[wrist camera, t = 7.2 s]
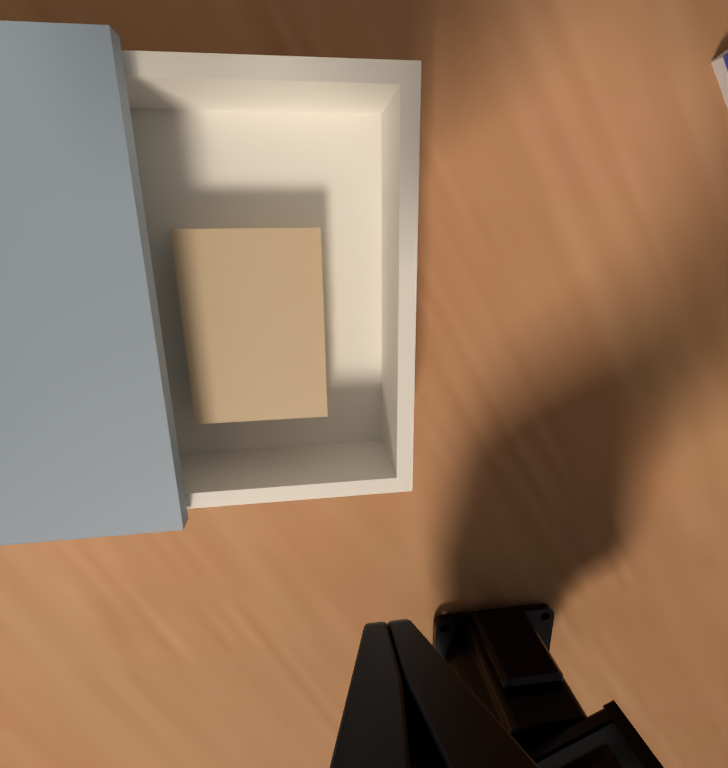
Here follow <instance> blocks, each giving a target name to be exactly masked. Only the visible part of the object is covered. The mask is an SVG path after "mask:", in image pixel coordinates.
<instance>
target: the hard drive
mask: <svg viewBox="0 0 728 768" xmlns="http://www.w3.org/2000/svg"><path fill="white" fill-rule="evenodd" d="M711 64H712V67H713V70H714V72H715V75H716V78H717V81H718V83H719V86H720V89H721V92H722V95H723V98H724V100H725V103H726V106H727V109H728V49H727V50H726V51H724V52H723V53H722V54H720V55H719V56H718V57H716V58H715V59H713V60H712V61H711Z"/></svg>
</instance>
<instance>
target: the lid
mask: <svg viewBox="0 0 728 768" xmlns="http://www.w3.org/2000/svg"><path fill="white" fill-rule="evenodd" d="M187 520H188V514H187V507H186V500H185V493H184V486H183V479H182V472H181V465H180V458H179V451H178V444H177V437H176V430H175V422H174V415H173V408H172V401H171V394H170V387H169V380H168V373H167V366H166V359H165V352H164V345H163V338H162V331H161V324H160V317H159V310H158V303H157V296H156V289H155V282H154V275H153V268H152V261H151V254H150V247H149V240H148V233H147V226H146V219H145V212H144V205H143V198H142V191H141V184H140V177H139V170H138V163H137V156H136V149H135V142H134V135H133V128H132V121H131V113H130V106H129V99H128V92H127V85H126V78H125V71H124V64H123V57H122V50H121V43H120V37H119V36H118V34H117V33H116V32H115V31H114V30H113V29H112V28H111V27H110V25H97V24H73V23H49V22H25V21H1V20H0V545H11V544H23V543H35V542H46V541H58V540H70V539H82V538H94V537H106V536H117V535H129V534H141V533H153V532H165V531H177V530H184V527H185V525H186V522H187Z"/></svg>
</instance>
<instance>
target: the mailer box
mask: <svg viewBox="0 0 728 768" xmlns="http://www.w3.org/2000/svg"><path fill="white" fill-rule="evenodd" d="M122 57H123V64H124V71H125V78H126V85H127V92H128V99H129V106H130V113H131V121H132V128H133V135H134V142H135V149H136V156H137V163H138V170H139V177H140V184H141V191H142V198H143V205H144V212H145V219H146V226H147V233H148V240H149V247H150V254H151V261H152V268H153V275H154V282H155V289H156V296H157V303H158V310H159V317H160V324H161V331H162V338H163V345H164V352H165V359H166V366H167V373H168V380H169V387H170V394H171V401H172V408H173V415H174V422H175V430H176V437H177V444H178V451H179V458H180V465H181V472H182V479H183V486H184V493H185V500H186V507H187V509H190V508H203V507H215V506H228V505H240V504H253V503H266V502H278V501H291V500H304V499H316V498H329V497H341V496H354V495H367V494H379V493H392V492H404V491H412V477H413V431H414V384H415V338H416V291H417V245H418V199H419V152H420V106H421V61H416V60H387V59H359V58H331V57H302V56H274V55H246V54H218V53H189V52H161V51H133V50H122Z"/></svg>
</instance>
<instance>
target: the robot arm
mask: <svg viewBox="0 0 728 768" xmlns="http://www.w3.org/2000/svg"><path fill="white" fill-rule="evenodd" d="M543 613H544V614H543ZM553 619H554V612H553V611H552V609H551V608H550V607H549V605H547V604H543V603H542V604H533V605H524V606H515V607H507V608H498V609H489V610H480V611H471V612H462V613H454V614H445V615H440V616H439V617H437V618H436V619H435V621H434V631H433V646H432V645H431V644H430V642H429V641H428V640H427V639H426V638H425V637H424V636H423V634H422V633H421V632H420V631H419V630H418V629H417V628H416V626H415V625H414V624H413V623H412V622H411V621H410V620H408V619H403V620H394V621H390V622H388V624H386V623H385V622H376V623H368V624H366V625H365V626H364V629H363V633H362V638H361V642H360V646H359V650H358V654H357V658H356V662H355V666H354V670H353V674H352V678H351V683H350V687H349V691H348V695H347V699H346V703H345V707H344V711H343V715H342V719H341V723H340V728H339V732H338V736H337V740H336V744H335V748H334V752H333V756H332V760H331V764H330V768H663V766H662V765H661V763H660V762H659V761H658V759H657V758H656V757H655V755H654V754H653V753H652V751H651V750H650V749H649V747H648V746H647V744H646V743H645V742H644V740H643V739H642V738H641V736H640V735H639V734H638V732H637V731H636V730H635V728H634V727H633V725H632V724H631V723H630V721H629V720H628V719H627V717H626V716H625V715H624V713H623V712H622V711H621V709H620V708H619V706H618V705H617V704H616V702H615V701H614V700H613V701H611V702H609V703H607V704H605V705H603V707H604V709H602V710H600V711H598V712H596V713H594V714H592V715H590V716H588V717H587V715H586V714H585V712H584V711H583V709H582V707H581V706H580V704H579V702H578V701H577V699H576V697H575V696H574V694H573V692H572V691H571V689H570V687H569V686H568V684H567V682H566V681H565V679H564V677H563V674H562V672H561V670H560V669H559V667H558V665H557V664H556V662H555V660H554V659H553V657H552V656H551V654H550V652H549V649H550V642H551V634H552V627H553ZM445 624H446V625H445ZM443 625H445V626H443Z"/></svg>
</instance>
